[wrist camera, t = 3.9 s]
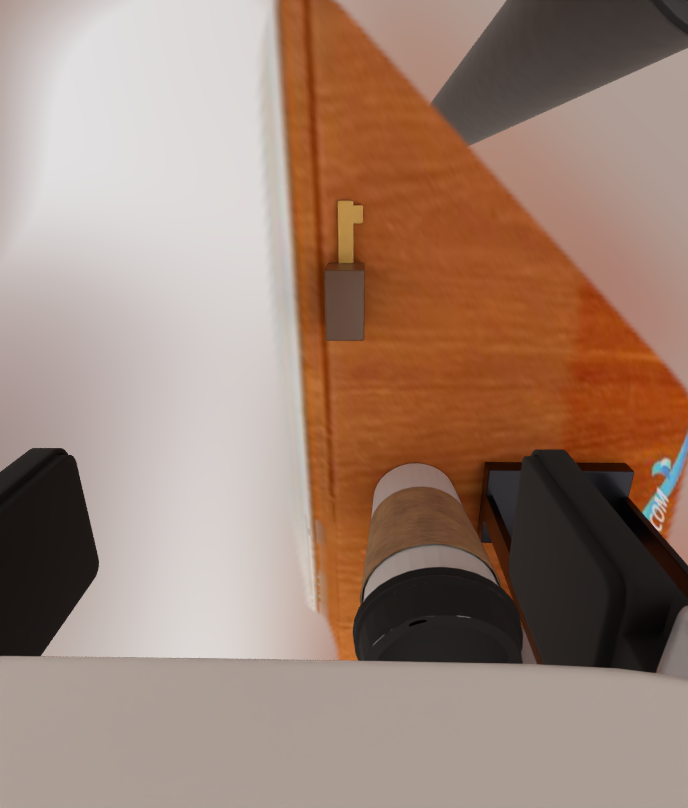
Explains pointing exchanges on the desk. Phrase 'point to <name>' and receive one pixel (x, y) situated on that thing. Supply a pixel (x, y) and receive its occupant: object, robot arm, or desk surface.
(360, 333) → the key
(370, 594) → the coffee cup
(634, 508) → the stand
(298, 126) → the desk surface
